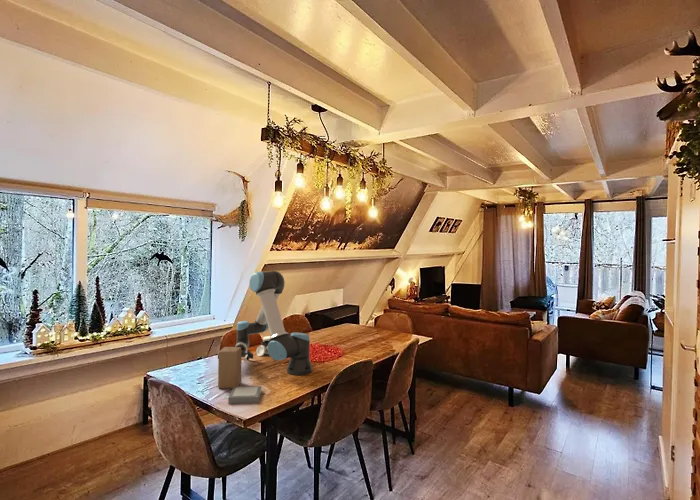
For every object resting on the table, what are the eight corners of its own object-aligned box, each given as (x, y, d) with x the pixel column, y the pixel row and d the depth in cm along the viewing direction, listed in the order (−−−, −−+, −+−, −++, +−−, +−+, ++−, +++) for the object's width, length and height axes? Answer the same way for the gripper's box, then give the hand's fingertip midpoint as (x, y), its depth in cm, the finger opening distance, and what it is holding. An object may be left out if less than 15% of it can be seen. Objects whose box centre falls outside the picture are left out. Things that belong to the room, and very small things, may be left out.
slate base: (261, 391, 198) (261, 385, 198) (257, 402, 184) (258, 396, 184) (234, 392, 197) (234, 386, 197) (228, 403, 183) (228, 397, 183)
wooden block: (241, 382, 211) (242, 346, 211) (236, 389, 201) (236, 351, 201) (223, 382, 211) (224, 346, 211) (217, 388, 201) (217, 351, 201)
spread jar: (276, 352, 269) (277, 336, 269) (271, 357, 258) (272, 340, 258) (260, 351, 271) (260, 335, 270) (254, 356, 259) (255, 339, 259)
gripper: (260, 355, 237) (255, 366, 216) (219, 356, 235) (210, 367, 213) (260, 343, 237) (255, 353, 216) (219, 344, 234) (210, 354, 213)
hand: (232, 360), depth 215 cm, fingers open, 13 cm apart
